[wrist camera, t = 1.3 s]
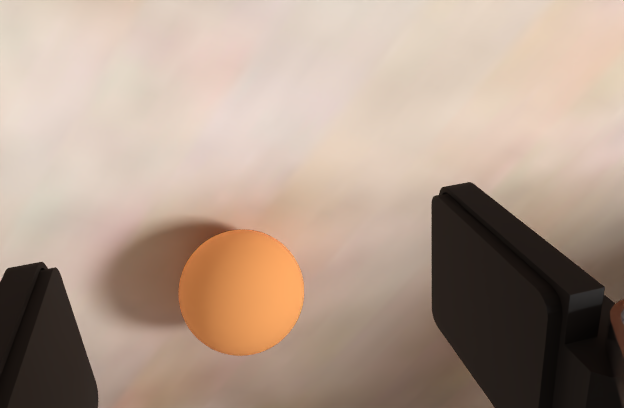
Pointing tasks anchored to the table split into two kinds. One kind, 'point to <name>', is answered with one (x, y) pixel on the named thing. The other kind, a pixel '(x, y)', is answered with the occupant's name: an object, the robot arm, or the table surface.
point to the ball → (241, 292)
